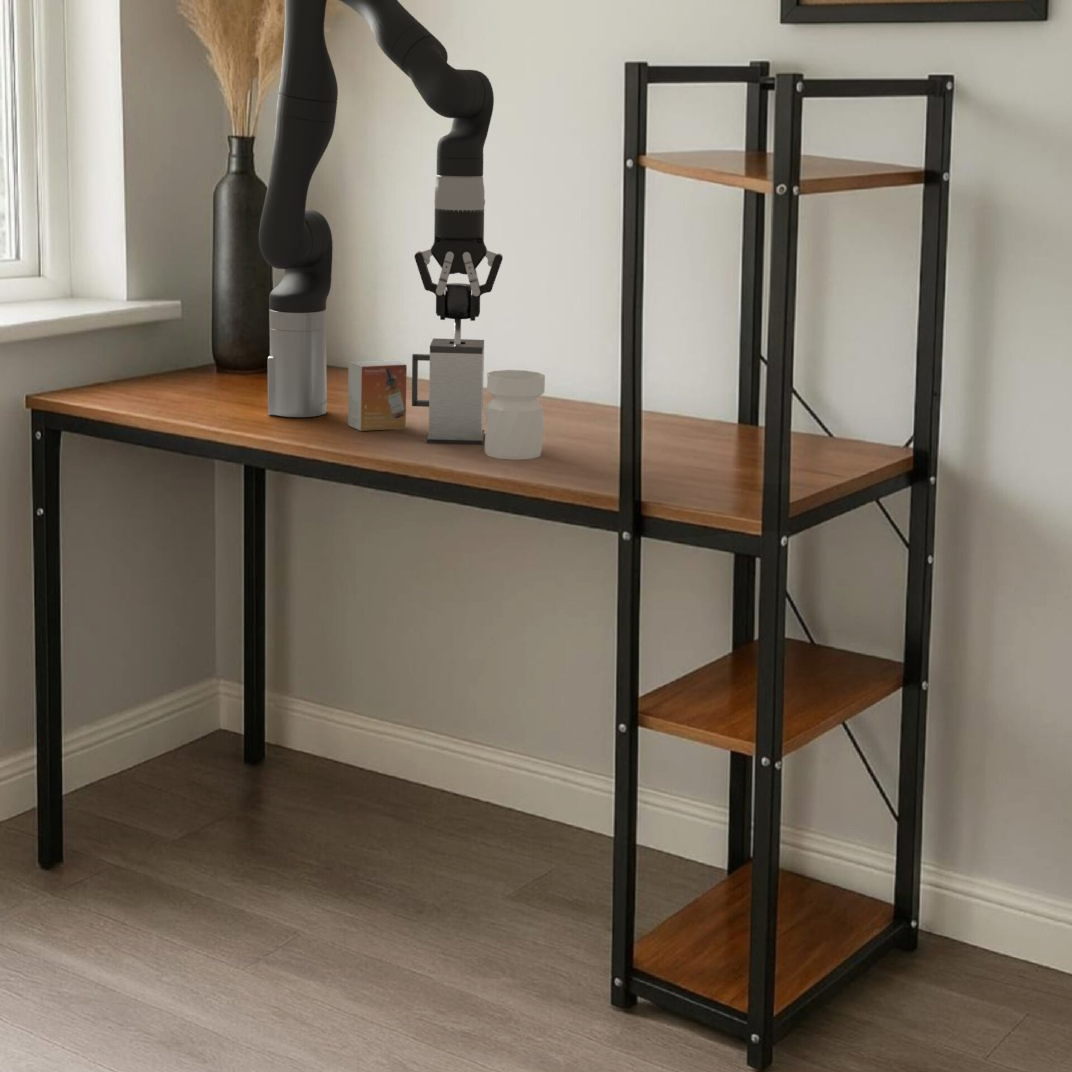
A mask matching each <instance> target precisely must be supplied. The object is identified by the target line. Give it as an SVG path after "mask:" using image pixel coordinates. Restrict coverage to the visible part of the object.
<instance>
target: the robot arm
mask: <svg viewBox="0 0 1072 1072" xmlns="http://www.w3.org/2000/svg"><path fill="white" fill-rule="evenodd" d="M338 1H340V2H341V3H343V4H345V5H346V6H348V7H349V8H350V9H352V10H354V11H355V12H356V13H357V14H359V15H360V16H361V17H362V19H363V20H364V21H365V22H366V23H367V25H368V27H369V28H370V31H371V32H372V35H373V38H374V40H375V41H376V44H377V45H378V47H379V48H380V50H381V51H382V52H383V53H384V55H386V57H387V58H388V59H389V61H391V62H392V63H393V64H395V65H396V67H398V68H399V70H400V71H402V72H403V73H404V74H405V75H406V76H407V77H408V78H409V79H410V80H411V82H412V84H413V85H414V87H415V88H416V90H417V92H418V94H419V95H420V97H421V98H422V99H423V101H424V102H425V104H426V105H427V106H428V107H429V108H430V109H431V110H432V111H434V112H435V113H436V114H438V115H440V116H441V117H444V118H446V119H447V118H448V119H453V120H452V122H451V123H452V124H451V128H450V131H449V133H448V134H445V135H444V136H442V137H440V138H439V140H438V142H437V147H436V176H435V177H436V178H435V179H436V180H435V187H434V226H433V227H434V229H433V232H434V233H433V234H434V235H433V236H434V239H433V243H432V246H431V247H430V248H429V249H426V250H424V251H420V250H419V251H417V252H415V254H414V257H413V258H414V260H415V264H416V267H417V270H418V273H419V276H420V278H421V281H422V285H423V288H424V290H425V291H426V292H431V293H433V294H434V295H435V314H436V316H437V317H439V319H440V320H441V321H446V318H445V286H446V284H448V280H449V276H450V275H455V274H461V275H467V278H468V282H469V284H470V286H471V310H470V319H469V320H470V321H471V322H472V321H473V322H475V321H476V318H478V317H480V313H481V296H482V295H484V294H487V293H491V292H492V290H493V287H494V284H495V283H496V278H497V276H498V273H499V270H500V268H501V265H502V262H503V259H504V258H503V254H501V253H495V252H494V251H493V252H492V251H490V250H488V248H487V246H486V243H485V206H486V199H485V185H484V184H485V183H484V147H485V145H486V140H487V136H488V133H489V129H490V124H491V120H492V116H493V111H494V105H495V104H494V103H495V97H494V89H493V85H492V83H491V81H490V79H489V77H488V76H487V75H486V74H484V73H483V72H482V71H479V70H476V69H460V68H459V69H457V68H454V67H453V66H451V65H450V64H449V63H448V60H449V59H448V56H449V55H448V51H447V48H445V46H444V45H443V43H441V41H440V40H439V39H438V38H437V37H436V36H435V35H433V33H432V32H431V31H429V30H428V29H427V28H426V27H425V26H424V25H423V24H422V23H421V22H419V20H417V19H416V18H415V17H414V16H413V15H412V14H411V13H410V12H409V10H407V9H406V8H405V7H404V6H403V5H402V3H400V2H399V0H338ZM327 2H328V0H284V34H283V44H282V45H283V47H282V59H281V61H282V62H281V73H280V81H279V87H278V94H277V104H276V114H275V117H276V118H275V130H274V140H273V146H272V156H271V163H270V171H269V178H268V184H267V188H266V194H265V197H264V198H265V199H264V203H263V209H262V212H261V217H260V223H259V229H258V245H259V250H260V253H261V255H262V257H263V259H264V260H265V262H266V263H267V264H268V265H269V266H270V267H273V268H274V269H278V270H284V274H283V277H282V279H281V280H280V282H279V283H278V285H276V287H274V288H273V289H272V290H271V291H270V293H269V298H268V306H269V307H268V309H269V311H268V312H269V316H268V318H269V355H268V356H267V413H268V414H267V415H269V416H279V417H285V418H286V417H287V418H310V417H312V418H313V417H317V416H318V417H319V416H323V415H325V414H327V401H328V399H327V299H328V296H329V294H330V292H331V291H330V290H331V287H332V286H331V285H332V272H333V250H334V249H333V235H332V230H331V227H330V224H329V222H328V220H327V219H326V217H325V216H324V215H323V214H321V213H320V212H319V211H317V210H315V209H311V208H306V206H307V197H308V196H307V195H308V191H309V188H310V184H311V180H312V177H313V175H314V172H315V171H316V169H317V167H318V165H319V163H320V162H321V159H322V158H323V156H324V154H325V152H326V151H327V150H326V149H327V148H328V145H329V144H330V141H331V139H332V136H333V133H334V130H335V125H336V116H337V115H336V114H337V105H338V96H339V94H338V93H339V92H338V91H339V89H338V88H339V87H338V81H337V77H336V73H335V69H334V65H333V62H332V60H331V57H330V53H329V50H328V48H327V47H328V46H327V43H326V39H325V17H326V9H327V8H326V7H327ZM432 256H433V258H434V259H435V262H437V264H438V265H439V267H440V268H441V270H440V271H441V272H440V274H439V278H438V282H437V283H434V282H433V280H432V276H431V274H430V271H429V268H428V265H429V264H430V262H431V257H432ZM485 258H486V259H487V265H488V266H489V267H490V270H489V272H488V275H487V279H486V281H485V283H484V284H481V285H480V282H479V278H478V273H477V268H478V266H479V265H480V264H481V263H482V261H483V260H484V259H485Z"/></svg>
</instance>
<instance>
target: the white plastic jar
mask: <svg viewBox="0 0 1072 1072" xmlns="http://www.w3.org/2000/svg"><path fill="white" fill-rule="evenodd" d="M486 374H487V375H486V376H487V378H486V379H487V385H486V392H487V393H488V394H489V395H490V396H491V397H492V398H493V399H492V400H491V401H489V402H487V403H486V405H485V422H486V428H485V433H484V453H485V455H487V456H488V457H491V458H495V459H501V460H516V461H517V460H519V461H520V460H533V459H536V458H538V457H541V453H542V450H543V440H544V406H543V404H542V403H541V402H540V401H539V400H538V398H540V397H541V396H542V395H544V393H545V385H546V377H545V376H546V375H545V373H544V374H543V373H541V372H538V371H531V370H522V369H521V370H518V369H516V370H515V369H503V370H493V371H490V372H487V373H486Z"/></svg>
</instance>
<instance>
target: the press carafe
mask: <svg viewBox="0 0 1072 1072" xmlns="http://www.w3.org/2000/svg"><path fill="white" fill-rule="evenodd" d="M411 357H412V359H411V360H412V361H411V364H412V365H411V366H412V367H411V369H412V370H411V371H412V372H411V374H412V375H411V376H412V377H411V407H425V408H426V407H427V408H428V434H427V438H426V443H427V444H444V445H445V444H447V445H449V444H450V445H478V446H479V445H480V446H481V445H482V446H483V445H484V444H483V443H484V439H485V429H483V424H484V423H483V419H484V418H483V417H484V413H483V412H484V408H483V407H484V373H485V372H484V370H485V369H484V368H485V366H484V365H485V361H484V360H485V340H484V339H467V338H463V339H462V338H461V344H454V338H432V341H431V342H430V345H429V353H428V354H427V353H412V355H411ZM419 361H420V362H421V361H423V362H424V361H427V362H429V380H428V381H429V384H428V385H429V391H428V395H429V396H428V397H429V398H428V399H418V393H419V391H418V390H419V385H418V384H419Z"/></svg>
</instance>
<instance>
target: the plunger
mask: <svg viewBox="0 0 1072 1072" xmlns="http://www.w3.org/2000/svg"><path fill="white" fill-rule="evenodd" d="M444 294H445V319H448V320H454V325H453V326H454V331H453V332H454V335H453V337H454V338H453V339H454V344H461V339H462V320H468V319H469V320H470V310H471V295H472V290H471V286H470V283H460V282H459V283H457V282H454V283H452V282H451V283H447V284H446V286H445V291H444Z"/></svg>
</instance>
